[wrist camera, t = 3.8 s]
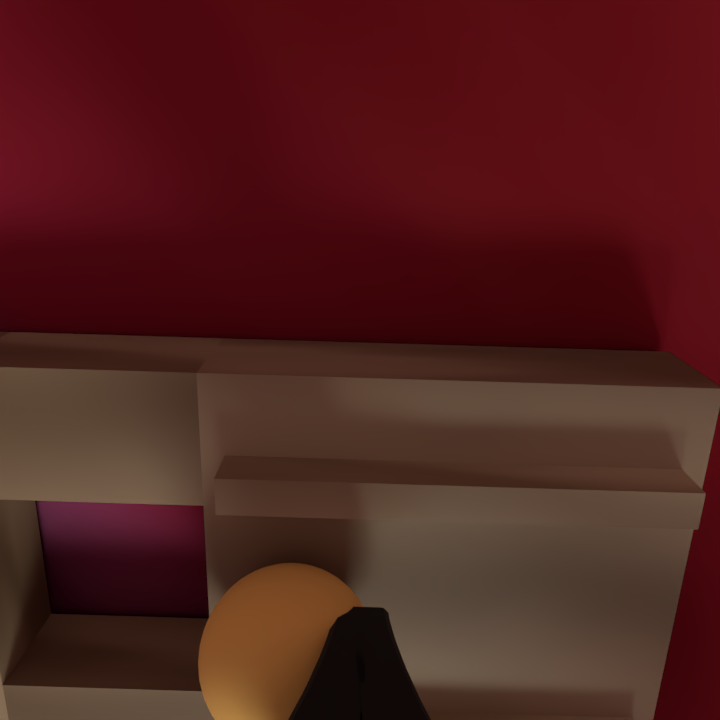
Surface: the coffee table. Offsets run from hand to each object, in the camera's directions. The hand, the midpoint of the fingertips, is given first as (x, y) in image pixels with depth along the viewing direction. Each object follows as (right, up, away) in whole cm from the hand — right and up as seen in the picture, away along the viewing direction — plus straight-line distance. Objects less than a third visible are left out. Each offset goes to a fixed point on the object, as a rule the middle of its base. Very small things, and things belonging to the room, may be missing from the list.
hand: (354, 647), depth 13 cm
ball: (-1, 0, 0) cm, 1 cm away
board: (-2, +1, +4) cm, 5 cm away
